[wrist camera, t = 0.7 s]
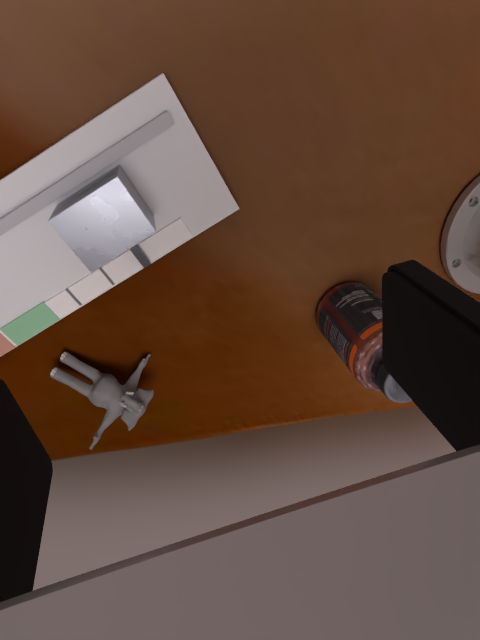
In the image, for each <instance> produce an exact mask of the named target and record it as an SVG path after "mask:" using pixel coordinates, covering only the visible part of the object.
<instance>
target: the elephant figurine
mask: <svg viewBox="0 0 480 640" xmlns="http://www.w3.org/2000/svg"><path fill="white" fill-rule="evenodd" d="M150 356H151V354H148V355H147V357H146V358H145V359H144V358H143V359H142V361H141V362H140V363H139V365H138V368H137V369H136V371H135V372H134V373H133V374H132V375H131V376H130V378H129V379H128V381H127V382H126V383H125V384H124V385H120V383H119V382H118V381H117V379H116V378H115V377H114V376H113V375H111V374H103V373H101V372H100V371H98V370H97V369H95V368H93V367H91V366H89V365H87V364H85V363H83V362H82V361H80V360H78V359H77V358H76V357H74V356H73V355H71V354H70V353H68V352H64V354H62V355H61V357H60V361H61V362H63V363H65V364H66V365H68V366H70V367H72V368H73V369H75V370H77V371H78V372H80V373H82V374H83V375H85V376H86V377H88V378H89V379H91V380H92V381H93V384H91V385H89V384H87V383H85V382H83V381H81V380H79V379H77V378H75V377H74V376H72V375H70V374H68V373H66V372H64V371H63V370H61V369H60V368H58V367H55V368H54V369H53V370H52V372H51V373H50V377H52V378H54V379H56V380H58V381H60V382H62V383H64V384H66V385H68V386H70V387H72V388H73V389H75V390H77V391H78V392H80V393H81V394H83V395H85V396H87V397H88V399H89V400H90V401H91V402H92V403H93V404H94V405H96V406H97V407H102V408H105V409H106V410H107V412H106V414H105V416H104V418H103V421H102V423H101V426H100V428H99V429H98V430H97V432H96V433H95V435H94V437H93V438H94V439H93V442H92V444H91V446H90V449H91V450H92V448H93V446H94V445H95V444H96V443H97V442H98V441H99V439H100V438H101V434H102V432H103V431H104V430H105V429H106V428H107V427H108V426H109V425H110V424H111V423H112V422H113V421H114V420H115V419H116V418H117V417H118V416H120V415H122V416H121V419H122V420H123V421H124V422H125V423H126V424H127V426H128V430H131V429H132V428H133V427H134V426H135V425H136V423H137V421H138V419H139V418H140V417H141V416H142V415H143V414H144V412H145V410H146V408H147V405H148V403H149V401H150V400H151V398H152V397H153V394H154V390H143V389H138V390H137V391H136V388H137V385H138V382H139V379H140V375H141V372H142V370H143V368H144V367H145V366H146V364H147V362H148V359H149V357H150Z"/></svg>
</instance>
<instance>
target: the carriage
mask: <svg viewBox="0 0 480 640" xmlns="http://www.w3.org/2000/svg"><path fill="white" fill-rule="evenodd" d="M48 222H49V224H50V225H51V226H52V227H53V228H54V229H55V231H56V232H57V233H58V234H59V235H60V237H61V238H62V239H63V240H64V241H65V242H66V244H67V245H68V246H69V247H70V248H71V250H72V251H73V252H74V253H75V254H76V255H77V257H78V258H79V259H80V260H81V261H82V263H83V264H84V265H85V266H86V267H87V268H88V270H89V271H90V272H93V271H95V270H96V269H98V268H99V267H101V266H103V265H104V264H106V263H107V262H109V261H111V260H112V259H114V258H115V257H117V256H119V255H120V254H122V253H123V252H125V251H127V250H128V249H130V250H131V252H132V253H133V254H134V256H135V257H136V258H137V260H138V261H139V262H140V264H141V265H142V266H143V268H145V267H147V266H149V265H150V264H151V262H150V261H149V260H148V258H147V257H146V256H145V254H144V253H143V252H142V250H141V249H140V248H139V246H138V245H137V244H138V243H139V242H141V241H143V240H144V239H146V238H147V237H149V236H151V235H152V234H154V233H155V232H156V227H155V220H154V214H153V213H152V211H151V210H150V208H149V207H148V205H147V204H146V202H145V201H144V200H143V198H142V197H141V195H140V194H139V192H138V191H137V189H136V188H135V186H134V185H133V183H132V182H131V181H130V179H129V178H128V176H127V175H126V173H125V172H124V170H123V169H122V167H121V166H120V165H117V166H116V167H114V168H113V169H111V170H110V171H108V172H106V173H105V174H103V175H102V176H100V177H99V178H97V179H96V180H94V181H92V182H91V183H89V184H88V185H86V186H85V187H83V188H82V189H80V190H79V191H77V192H75V193H74V194H72V195H71V196H69V197H68V198H66V199H65V200H63V201H61V202H60V203H58V204H57V206H56V208H55V209H54V211H53V213H52V215H51V216H50V218H49V220H48Z"/></svg>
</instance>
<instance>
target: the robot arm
mask: <svg viewBox="0 0 480 640" xmlns="http://www.w3.org/2000/svg"><path fill="white" fill-rule="evenodd" d="M441 259H442V263H443V267H444V269H445V271H446V273H447V275H448V276H449V277H450V278H451V279H452V281H453V282H454V283H456V284H457V285H459V286H460V287H462V288H463V289H465V290H467V291H469V292H472V293H476V294H480V175H479V176H478V177H477V178H476V179H475V180H474V181H473V182H472V183H471V184H470V185H469V186H468V187H467V188H466V189H465V190H464V191H463V193H462V194H461V196H460V197H459V198H458V200H457V201H456V203H455V204H454V206H453V208H452V210H451V212H450V214H449V216H448V218H447V220H446V223H445V226H444V229H443V233H442V239H441ZM382 359H383V364H384V367H385V369H386V370H387V372H388V373H389V374H390V375H391V377H392V378H393V379H394V380H395V381H396V382H397V383H398V385H399V386H400V387H401V388H402V389H403V390H404V391H405V393H406V394H407V395H408V396H409V397H410V398H411V399H412V401H413V402H414V403H415V404H416V405H417V406H418V407H419V409H420V410H421V411H422V412H423V413H424V414H425V415H426V417H427V418H428V419H429V420H430V421H431V422H432V423H433V425H434V426H435V427H436V428H437V429H438V430H439V432H440V433H441V434H442V435H443V436H444V437H445V438H446V440H447V441H448V442H449V443H450V444H451V445H452V446H453V447H454V449H455V450H456V451H457V452H453V453H450V454H447V455H444V456H441V457H437V458H434V459H431V460H428V461H425V462H422V463H419V464H416V465H413V466H410V467H407V468H403V469H400V470H397V471H394V472H391V473H388V474H385V475H382V476H378V477H376V478H372V479H369V480H366V481H363V482H360V483H357V484H354V485H350V486H347V487H344V488H341V489H338V490H335V491H332V492H329V493H326V494H323V495H320V496H317V497H314V498H310V499H307V500H304V501H301V502H298V503H295V504H292V505H289V506H286V507H283V508H280V509H277V510H274V511H271V512H268V513H265V514H261V515H258V516H255V517H252V518H249V519H247V520H243V521H240V522H238V523H234V524H231V525H228V526H225V527H222V528H219V529H216V530H213V531H210V532H207V533H204V534H201V535H198V536H195V537H192V538H188V539H186V540H182V541H180V542H176V543H174V544H170V545H168V546H164V547H162V548H159V549H156V550H153V551H150V552H147V553H144V554H141V555H138V556H135V557H132V558H129V559H126V560H123V561H120V562H117V563H114V564H111V565H108V566H105V567H102V568H99V569H96V570H93V571H90V572H87V573H84V574H81V575H78V576H75V577H72V578H69V579H66V580H63V581H60V582H57V583H54V584H51V585H48V586H45V587H43V588H40V589H37V590H34V591H32V590H33V584H34V578H35V572H36V566H37V560H38V555H39V549H40V543H41V537H42V531H43V525H44V519H45V514H46V507H47V501H48V496H49V490H50V484H51V478H52V471H53V470H52V462H51V459H50V457H49V455H48V454H47V452H46V450H45V449H44V447H43V445H42V444H41V442H40V440H39V439H38V437H37V435H36V434H35V432H34V430H33V429H32V427H31V425H30V424H29V422H28V420H27V419H26V417H25V415H24V414H23V412H22V410H21V409H20V407H19V405H18V404H17V402H16V400H15V399H14V397H13V395H12V394H11V392H10V390H9V389H8V387H7V385H6V384H5V382H4V381H3V380H1V379H0V640H480V303H479V302H477V301H476V300H474V299H473V298H471V297H470V296H468V295H467V294H465V293H464V292H462V291H461V290H459V289H458V288H456V287H455V286H453V285H452V284H450V283H449V282H447V281H446V280H444V279H443V278H441V277H439V276H438V275H436V274H435V273H433V272H432V271H430V270H429V269H427V268H426V267H424V266H423V265H421V264H420V263H418V262H417V261H415V260H409V261H406V262H402V263H399V264H395V265H391V266H390V267H389V268H388V272H387V273H384V274H383V277H382Z"/></svg>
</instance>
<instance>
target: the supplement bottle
mask: <svg viewBox="0 0 480 640" xmlns="http://www.w3.org/2000/svg"><path fill="white" fill-rule="evenodd" d="M316 320H317V325H318V327H319V329H320V331H321V332H322V334H323V335H324V336H325V338H326V339H327V340H328V342H329V343H330V344H331V346H332V347H333V348H334V350H335V351H336V353H337V354H338V355H339V356H340V358H341V359H342V360H343V362H344V363H345V364H346V366H347V367H348V369H349V370H350V372H351V373H352V374H353V375H354V376H355V378H356V379H357V380H358V381H359V382H360V383H361V384H362V385H363V386H365V387H366V388H368V389H370V390H374V391H382V392H383V393H384V394H385V395H386V397H387V398H388V399H390V400H391V401H393V402H397V403H406V402H410V401H412V399H411V398H410V397H409V396H408V395H407V394H406V393H405V391H404V390H403V389H402V388H401V387H400V386H399V385H398V383H397V382H396V381H395V380H394V379H393V378H392V377H391V375H390V374H389V373H388V372H387V370H386V369H385V367H384V364H383V359H382V299H381V298H380V297H379V296H378V295H377V294H376V293H375V292H374V291H372V290H371V289H370V288H369V287H367V286H366V285H364V284H361V283H358V282H348V283H343V284H341V285H338V286H336V287H334V288H333V289H331V290H330V291H329V292H328V293H327V294H326V295H325V296H324V297H323V299H322V300H321V302H320V303H319V305H318V309H317V313H316Z"/></svg>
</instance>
